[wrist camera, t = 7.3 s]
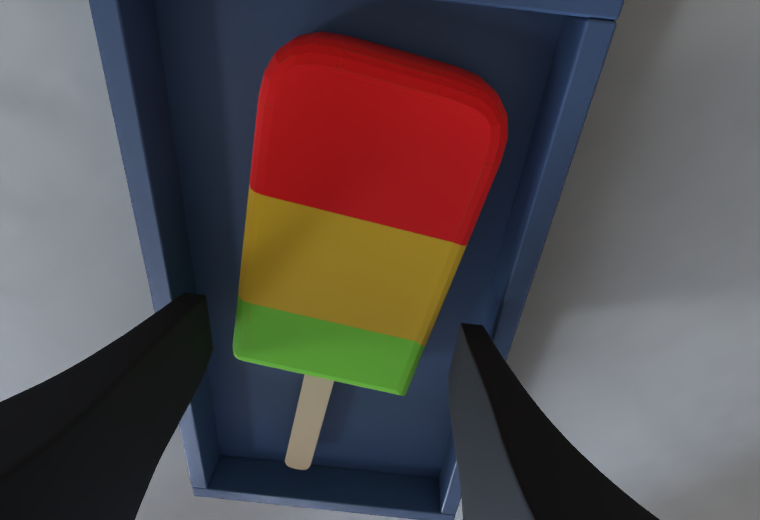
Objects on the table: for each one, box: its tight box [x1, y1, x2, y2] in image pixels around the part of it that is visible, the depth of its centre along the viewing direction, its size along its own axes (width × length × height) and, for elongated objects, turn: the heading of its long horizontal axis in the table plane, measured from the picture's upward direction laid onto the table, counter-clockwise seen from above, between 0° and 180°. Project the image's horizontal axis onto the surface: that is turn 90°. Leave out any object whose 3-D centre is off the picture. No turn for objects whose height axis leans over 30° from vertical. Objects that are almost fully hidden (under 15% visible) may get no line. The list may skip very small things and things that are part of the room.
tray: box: [89, 0, 624, 520], centre depth 14 cm, size 18×10×2 cm, turn 175°
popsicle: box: [233, 31, 508, 470], centre depth 14 cm, size 6×15×2 cm, turn 166°
